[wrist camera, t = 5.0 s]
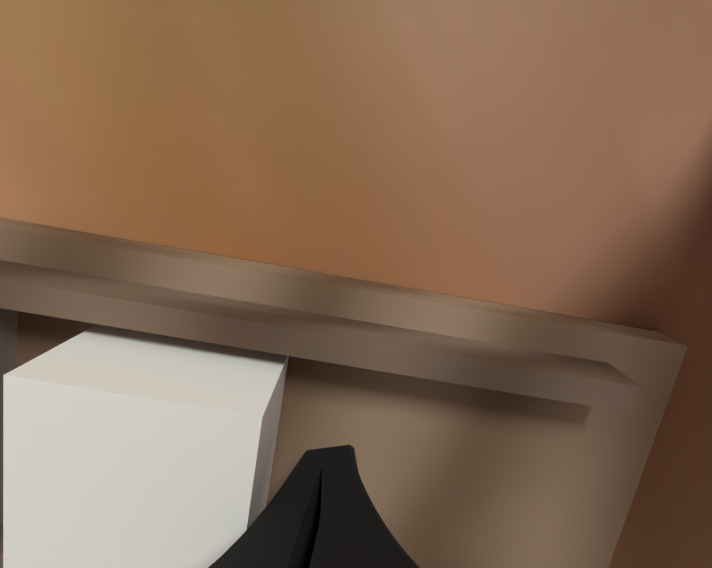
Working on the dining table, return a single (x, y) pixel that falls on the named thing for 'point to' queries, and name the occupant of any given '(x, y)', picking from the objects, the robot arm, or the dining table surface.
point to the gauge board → (387, 387)
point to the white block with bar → (136, 450)
